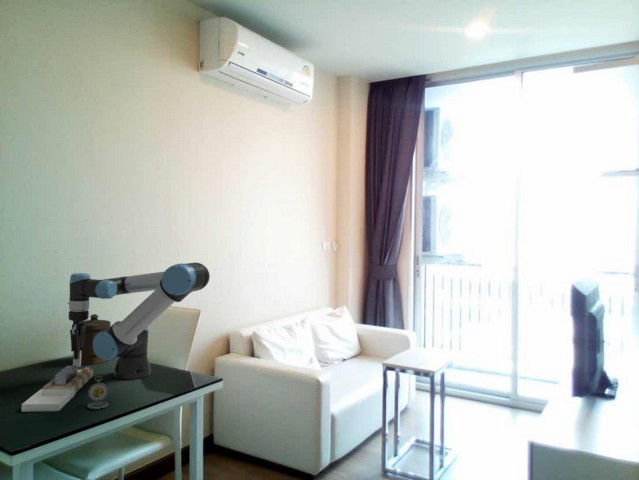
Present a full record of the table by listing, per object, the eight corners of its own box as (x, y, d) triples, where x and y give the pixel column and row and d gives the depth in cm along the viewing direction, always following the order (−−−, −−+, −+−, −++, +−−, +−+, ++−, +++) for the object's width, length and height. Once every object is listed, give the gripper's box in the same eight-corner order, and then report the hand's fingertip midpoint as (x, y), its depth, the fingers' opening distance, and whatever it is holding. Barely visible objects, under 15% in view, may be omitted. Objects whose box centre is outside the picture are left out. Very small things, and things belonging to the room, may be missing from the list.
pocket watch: (94, 411, 170) (95, 383, 170) (80, 406, 174) (81, 378, 174) (115, 405, 177) (116, 377, 177) (101, 400, 181) (102, 373, 181)
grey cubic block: (58, 382, 190) (58, 372, 190) (69, 382, 190) (69, 372, 190) (54, 385, 186) (54, 375, 186) (65, 385, 187) (66, 375, 186)
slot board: (65, 376, 207) (65, 366, 207) (92, 376, 209) (93, 366, 209) (42, 395, 183) (42, 384, 183) (73, 395, 185) (73, 384, 185)
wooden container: (114, 356, 240) (115, 312, 240) (101, 365, 226) (103, 317, 225) (84, 355, 240) (85, 311, 240) (69, 364, 225) (70, 316, 225)
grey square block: (62, 378, 194) (63, 369, 194) (73, 378, 195) (73, 368, 195) (58, 382, 190) (59, 371, 190) (69, 382, 191) (70, 371, 191)
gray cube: (66, 375, 199) (67, 365, 199) (77, 375, 199) (77, 365, 199) (63, 378, 195) (63, 368, 195) (73, 378, 195) (74, 368, 195)
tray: (40, 395, 183) (40, 389, 183) (74, 395, 185) (74, 388, 185) (21, 411, 167) (21, 404, 167) (58, 411, 169) (59, 403, 169)
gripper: (74, 307, 210) (72, 361, 211) (63, 312, 198) (61, 370, 198) (93, 307, 212) (91, 361, 212) (83, 313, 199) (81, 370, 199)
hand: (76, 366), depth 205 cm, fingers closed
